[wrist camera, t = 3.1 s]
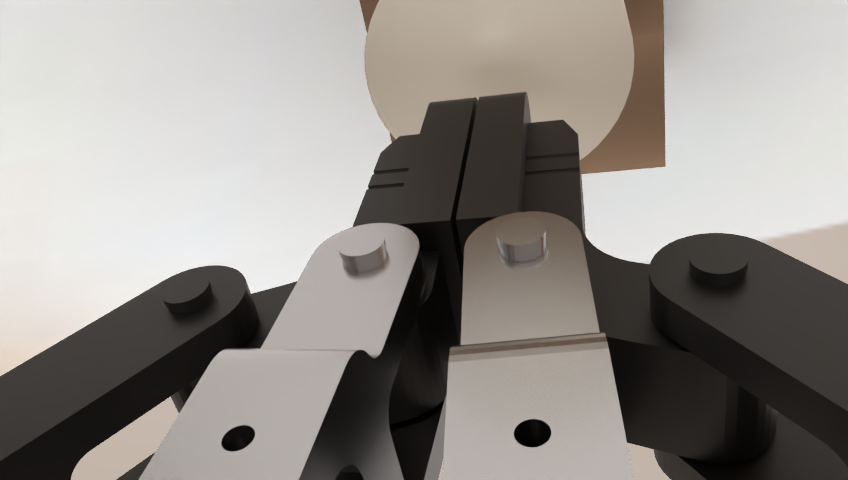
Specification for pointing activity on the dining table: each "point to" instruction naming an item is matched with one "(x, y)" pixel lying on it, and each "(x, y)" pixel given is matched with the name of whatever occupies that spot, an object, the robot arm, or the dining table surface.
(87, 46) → the dining table surface
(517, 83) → the knob
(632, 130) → the mount
